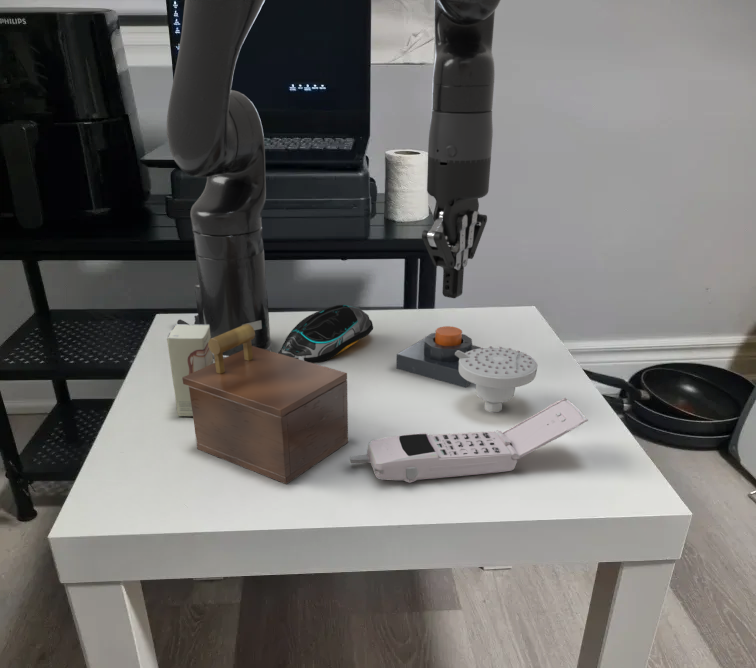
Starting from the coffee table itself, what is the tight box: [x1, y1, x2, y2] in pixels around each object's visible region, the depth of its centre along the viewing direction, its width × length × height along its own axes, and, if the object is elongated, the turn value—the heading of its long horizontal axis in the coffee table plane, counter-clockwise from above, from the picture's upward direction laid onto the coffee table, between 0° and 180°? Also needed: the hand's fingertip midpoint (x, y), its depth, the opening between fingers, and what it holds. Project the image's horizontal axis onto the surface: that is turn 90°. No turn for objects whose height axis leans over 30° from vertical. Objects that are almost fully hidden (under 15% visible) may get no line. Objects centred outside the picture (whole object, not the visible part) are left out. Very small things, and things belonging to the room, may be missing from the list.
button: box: [434, 325, 463, 346], centre depth 102 cm, size 4×4×2 cm
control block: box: [395, 332, 482, 389], centre depth 103 cm, size 11×9×4 cm
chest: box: [189, 379, 349, 485], centre depth 83 cm, size 13×11×8 cm
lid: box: [182, 324, 348, 417], centre depth 80 cm, size 14×11×5 cm
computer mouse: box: [277, 304, 374, 363], centre depth 108 cm, size 9×17×6 cm, turn 130°
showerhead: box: [455, 346, 538, 413], centre depth 92 cm, size 9×7×10 cm
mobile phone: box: [349, 397, 589, 484], centre depth 80 cm, size 6×6×25 cm
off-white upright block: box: [166, 323, 214, 417], centre depth 90 cm, size 5×4×10 cm
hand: (452, 295), depth 99 cm, fingers closed
